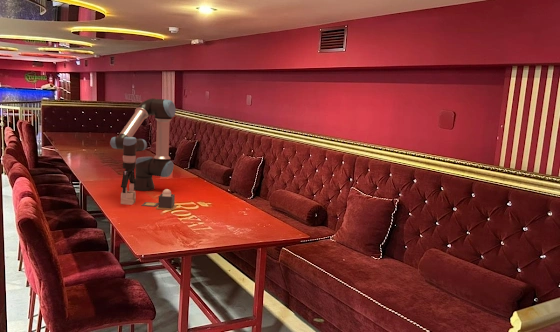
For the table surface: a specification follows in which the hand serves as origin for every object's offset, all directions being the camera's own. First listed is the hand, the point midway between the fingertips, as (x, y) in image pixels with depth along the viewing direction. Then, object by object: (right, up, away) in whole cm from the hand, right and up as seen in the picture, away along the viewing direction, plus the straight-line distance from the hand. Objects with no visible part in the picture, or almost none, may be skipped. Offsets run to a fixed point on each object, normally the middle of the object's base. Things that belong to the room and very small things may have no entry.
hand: (127, 195), depth 293 cm
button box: (+25, -7, -3) cm, 26 cm away
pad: (+14, -6, +1) cm, 15 cm away
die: (0, -5, +1) cm, 5 cm away
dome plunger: (+25, -5, -3) cm, 26 cm away
